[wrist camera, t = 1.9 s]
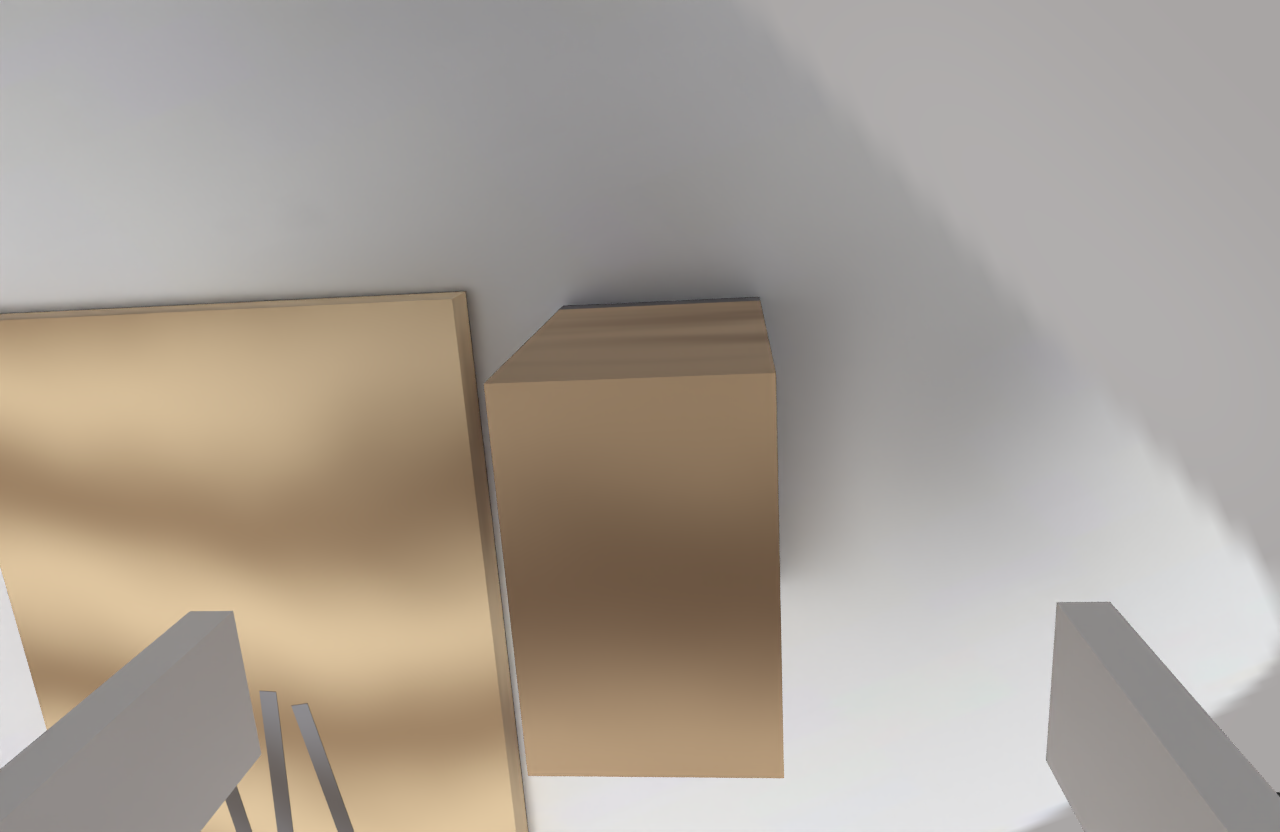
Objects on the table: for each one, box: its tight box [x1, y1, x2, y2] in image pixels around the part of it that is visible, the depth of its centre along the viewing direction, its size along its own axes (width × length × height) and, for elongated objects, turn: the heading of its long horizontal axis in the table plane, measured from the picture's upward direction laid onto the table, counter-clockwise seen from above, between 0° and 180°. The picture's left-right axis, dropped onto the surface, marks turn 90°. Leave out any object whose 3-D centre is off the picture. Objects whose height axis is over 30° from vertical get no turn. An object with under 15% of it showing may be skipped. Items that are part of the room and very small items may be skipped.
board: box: [0, 291, 528, 832], centre depth 27 cm, size 23×14×1 cm, turn 3°
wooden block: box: [484, 297, 784, 778], centre depth 20 cm, size 8×5×8 cm, turn 3°
